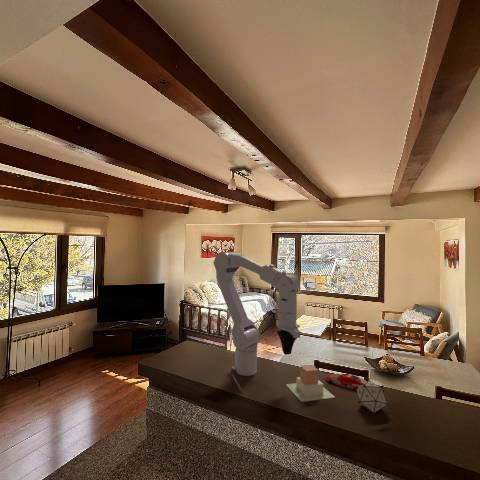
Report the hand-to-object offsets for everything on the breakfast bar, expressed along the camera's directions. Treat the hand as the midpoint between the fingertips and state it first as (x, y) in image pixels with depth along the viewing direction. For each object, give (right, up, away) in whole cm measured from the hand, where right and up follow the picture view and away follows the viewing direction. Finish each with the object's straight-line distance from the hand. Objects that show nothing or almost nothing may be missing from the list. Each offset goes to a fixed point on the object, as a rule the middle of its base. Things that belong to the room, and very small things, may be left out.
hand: (287, 353), depth 97 cm
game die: (+21, -11, -14) cm, 28 cm away
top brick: (+6, -7, -5) cm, 10 cm away
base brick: (+6, -10, -5) cm, 12 cm away
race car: (+19, -11, 0) cm, 22 cm away
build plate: (+6, -10, -5) cm, 13 cm away
